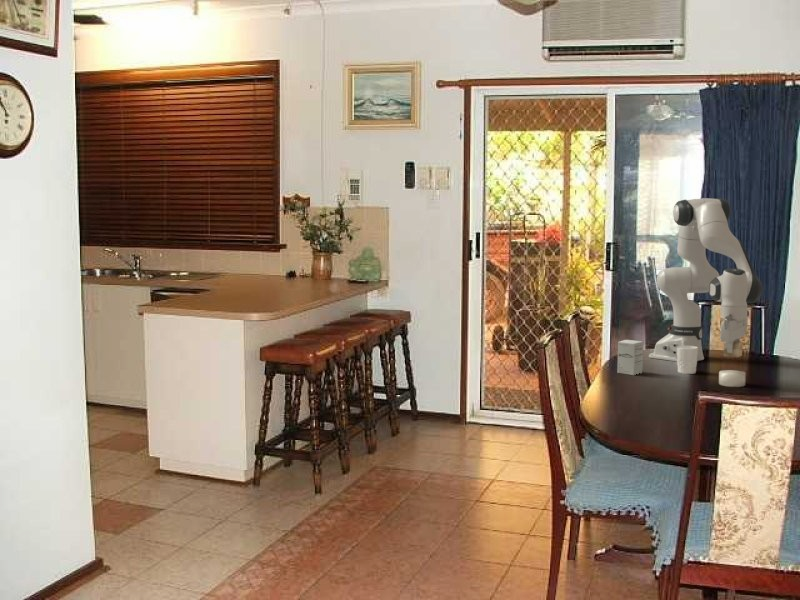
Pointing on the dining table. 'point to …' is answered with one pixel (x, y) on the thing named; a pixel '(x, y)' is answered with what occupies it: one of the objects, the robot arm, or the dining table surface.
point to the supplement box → (630, 357)
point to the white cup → (687, 359)
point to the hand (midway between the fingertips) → (732, 351)
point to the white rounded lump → (732, 378)
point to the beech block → (734, 349)
